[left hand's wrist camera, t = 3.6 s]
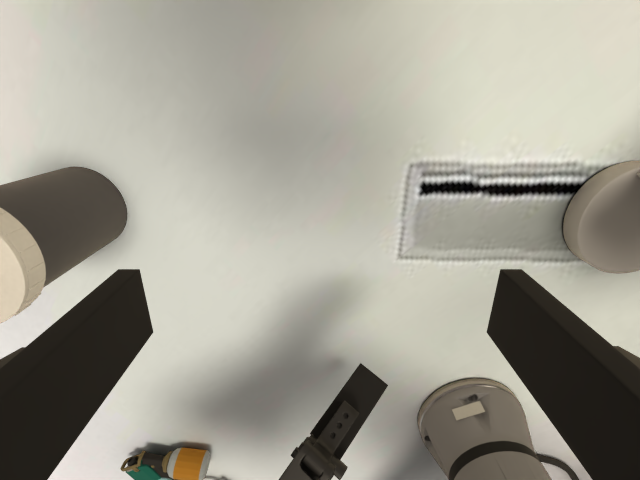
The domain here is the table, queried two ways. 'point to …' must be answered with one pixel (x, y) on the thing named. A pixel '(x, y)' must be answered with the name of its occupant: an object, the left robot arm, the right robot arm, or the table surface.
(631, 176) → the bust sculpture
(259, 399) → the table surface
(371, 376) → the right robot arm
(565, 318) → the left robot arm
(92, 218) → the jar
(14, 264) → the lid
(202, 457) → the spray gun
